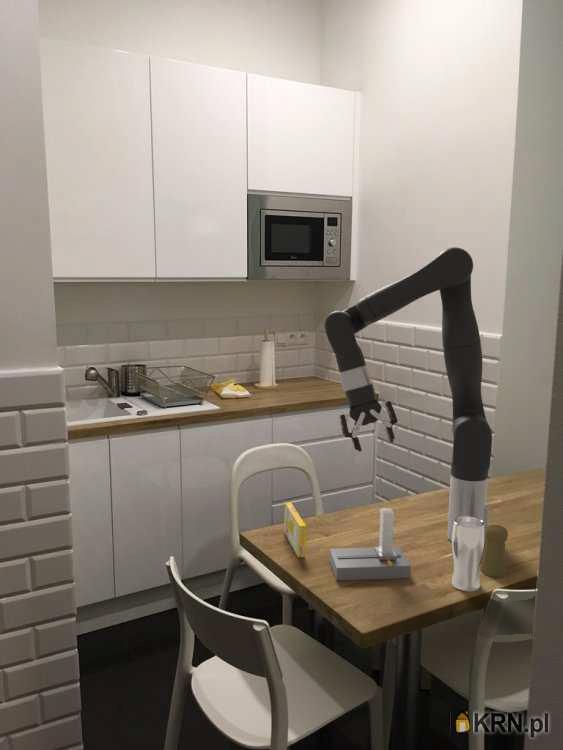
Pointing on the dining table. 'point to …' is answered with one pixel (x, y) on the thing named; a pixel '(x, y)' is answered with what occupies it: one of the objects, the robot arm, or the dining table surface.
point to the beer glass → (467, 552)
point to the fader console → (367, 564)
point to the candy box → (295, 530)
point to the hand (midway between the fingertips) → (375, 446)
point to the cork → (494, 552)
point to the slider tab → (386, 535)
